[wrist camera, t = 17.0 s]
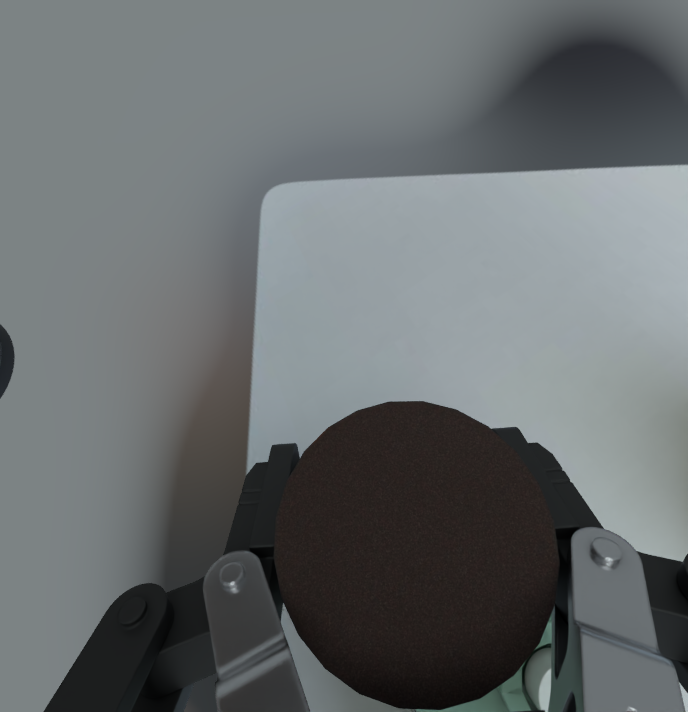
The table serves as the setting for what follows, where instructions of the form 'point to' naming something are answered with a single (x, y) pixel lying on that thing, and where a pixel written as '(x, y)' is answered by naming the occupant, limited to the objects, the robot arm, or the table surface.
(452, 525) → the deodorant
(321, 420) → the table surface
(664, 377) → the table surface
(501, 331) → the table surface
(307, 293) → the table surface
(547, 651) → the white cylindrical knob
